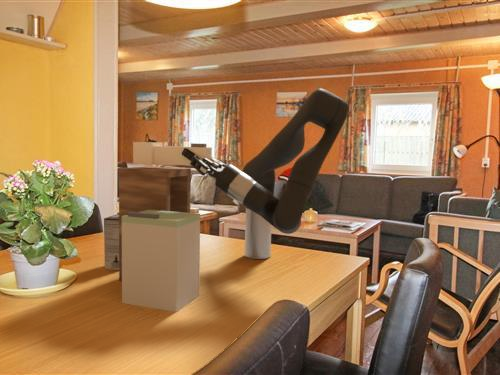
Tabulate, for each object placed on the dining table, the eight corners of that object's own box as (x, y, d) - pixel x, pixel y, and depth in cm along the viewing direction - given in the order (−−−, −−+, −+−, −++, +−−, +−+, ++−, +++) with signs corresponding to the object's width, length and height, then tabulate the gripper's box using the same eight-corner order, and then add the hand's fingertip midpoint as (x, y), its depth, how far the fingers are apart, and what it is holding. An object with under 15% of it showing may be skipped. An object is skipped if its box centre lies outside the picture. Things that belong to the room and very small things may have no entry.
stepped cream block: (145, 162, 128) (145, 142, 128) (212, 165, 121) (213, 143, 120) (133, 163, 123) (133, 142, 122) (203, 166, 115) (203, 143, 115)
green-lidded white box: (149, 288, 117) (149, 205, 115) (199, 295, 112) (200, 209, 110) (122, 302, 106) (121, 211, 104) (176, 312, 101) (177, 216, 99)
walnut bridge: (146, 268, 136) (146, 166, 133) (189, 274, 131) (190, 168, 128) (119, 281, 123) (118, 168, 120) (165, 287, 118) (166, 170, 115)
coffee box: (118, 261, 143) (118, 213, 141) (136, 263, 142) (136, 214, 140) (103, 269, 134) (103, 217, 132) (122, 270, 133) (122, 219, 131)
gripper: (252, 171, 122) (204, 139, 126) (233, 174, 108) (181, 138, 112) (239, 193, 123) (192, 161, 127) (219, 199, 110) (168, 163, 114)
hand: (187, 150), depth 120 cm, fingers closed on stepped cream block, 4 cm apart
